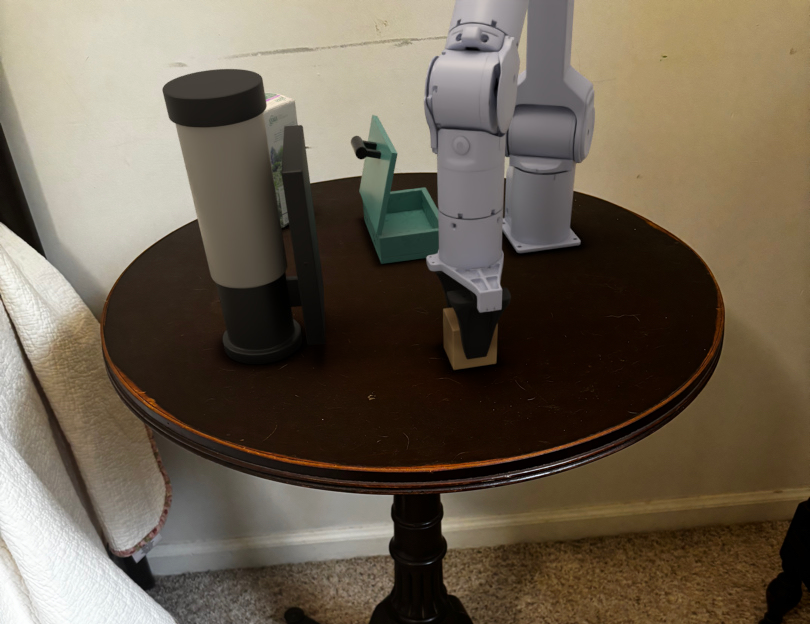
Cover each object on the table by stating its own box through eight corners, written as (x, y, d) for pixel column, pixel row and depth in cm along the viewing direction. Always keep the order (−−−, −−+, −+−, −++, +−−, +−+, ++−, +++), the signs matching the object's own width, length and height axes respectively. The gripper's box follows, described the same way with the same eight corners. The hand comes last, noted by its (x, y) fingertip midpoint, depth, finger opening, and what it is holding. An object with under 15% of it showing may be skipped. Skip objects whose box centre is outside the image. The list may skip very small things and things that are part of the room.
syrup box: (278, 206, 110) (259, 89, 100) (310, 214, 107) (295, 96, 97) (249, 221, 107) (227, 102, 97) (282, 230, 104) (262, 109, 94)
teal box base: (426, 211, 106) (425, 187, 104) (449, 254, 97) (449, 228, 95) (364, 219, 105) (362, 195, 103) (381, 264, 96) (379, 238, 94)
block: (443, 347, 82) (442, 308, 79) (485, 341, 82) (485, 302, 79) (453, 370, 79) (453, 330, 76) (496, 363, 79) (498, 324, 76)
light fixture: (228, 318, 88) (171, 67, 71) (326, 309, 89) (294, 57, 71) (219, 378, 80) (152, 109, 62) (329, 368, 80) (292, 98, 63)
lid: (377, 115, 97) (347, 110, 96) (397, 153, 88) (365, 147, 86) (364, 192, 103) (336, 188, 102) (381, 235, 94) (351, 231, 92)
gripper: (409, 181, 75) (415, 313, 84) (444, 247, 64) (446, 389, 74) (482, 172, 75) (480, 304, 85) (528, 235, 65) (520, 377, 75)
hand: (469, 343), depth 80 cm, fingers closed on block, 4 cm apart
